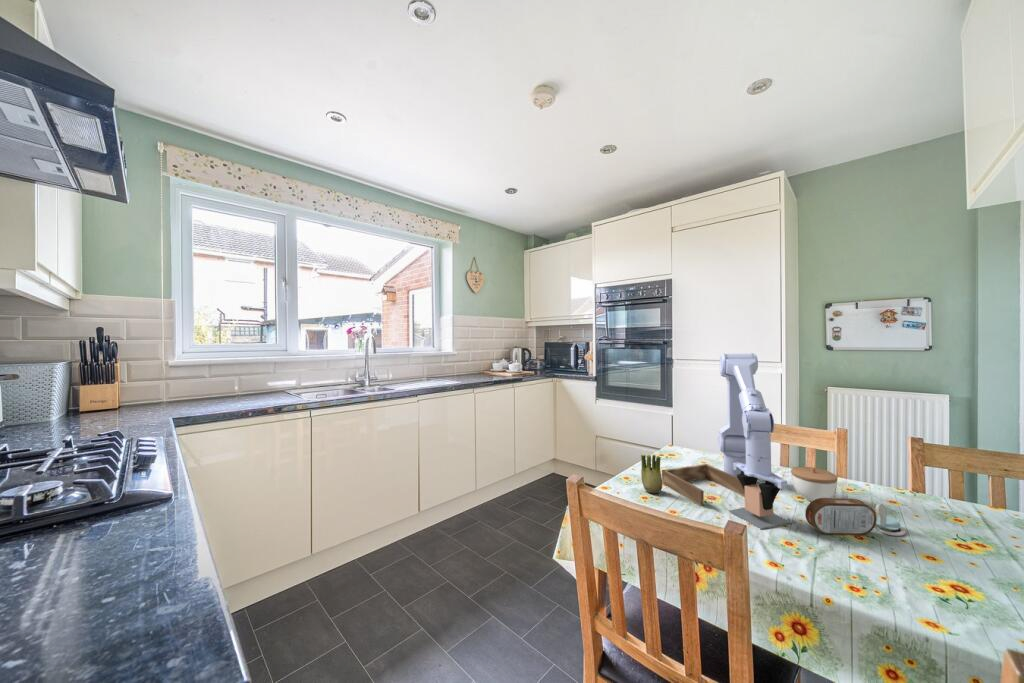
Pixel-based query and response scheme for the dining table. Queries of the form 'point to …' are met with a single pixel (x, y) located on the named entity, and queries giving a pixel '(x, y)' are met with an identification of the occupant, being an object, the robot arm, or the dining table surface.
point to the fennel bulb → (651, 474)
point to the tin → (841, 516)
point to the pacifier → (887, 522)
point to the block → (755, 501)
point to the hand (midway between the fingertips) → (759, 504)
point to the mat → (760, 518)
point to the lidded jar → (814, 483)
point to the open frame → (680, 475)
